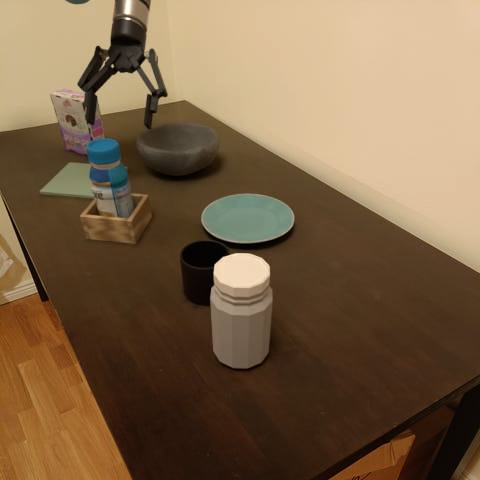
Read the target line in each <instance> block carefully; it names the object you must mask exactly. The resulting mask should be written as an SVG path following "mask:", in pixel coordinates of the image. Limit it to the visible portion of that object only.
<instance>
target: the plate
mask: <svg viewBox="0 0 480 480" xmlns="http://www.w3.org/2000/svg"><path fill="white" fill-rule="evenodd" d="M200 219H201V220H200V221H201V224H202V227H203V228H204V229H205V231H207V232H208V233H209V235H212V236H213V237H214V238H216V239H219V240H221V241H225V242H227V243H233V244H245V245H247V244H248V245H249V244H259V243H264V242H269V241H272V240H276V239H278V238H281V237H282V236H284V235H286V234H287V233H288V232H289V231H290V230H291V229H292V228H293V226H294V223H295V214H294V211H293V209H292V208H291V207H290V206H289V205H287V204H286V203H285V202H283V201H282V200H279V199H277V198H275V197H272V196H269V195H264V194H260V193H236V194H231V195H227V196H223V197H220V198H219V199H216V200H214V201H212V202H211V203H209V204H208V205H207V206H206V207H205V208H204V210H203V211H202V213H201V216H200Z"/></svg>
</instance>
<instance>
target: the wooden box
mask: <svg viewBox="0 0 480 480" xmlns="http://www.w3.org/2000/svg"><path fill="white" fill-rule="evenodd" d="M131 196H132V201H133V207H134V211H133V213H132V214H131V216H130V217H129V219H127V218H117V217H106V216H100V215H99V212H98V208H97V204H96V200H95V199H92V201H91V202H90V203H89V204H88V206H87V207H86V208H85V209H84V211H82V213H81V214H80V216H79V218H80V222H81V225H82V228H83V229H82V230H83V232H84V235H85V239H86V240H94V241H101V242H102V241H103V242H110V243H111V242H113V243H120V244H121V243H122V244H123V243H124V244H132V245H136V244H137V243H138V241H139V240H140V238H141V236H142V234H143V233H144V232H145V229H146V228H147V227H148V225H149V224H150V221H151V219H152V218H153V214H152V209H151V208H152V207H151V202H150V196H149V194H143V193H133V192H131Z"/></svg>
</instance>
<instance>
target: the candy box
mask: <svg viewBox="0 0 480 480" xmlns="http://www.w3.org/2000/svg"><path fill="white" fill-rule="evenodd" d="M49 96H50V101H51V103H52V106H53V110H54V114H55V117H56V120H57V124H58V126H59V130H60V133H61V136H62V140H63V144H64V147H65V150H68V151H70V152H73V153H76V154H80V155H83V156H86V157H88V155H87V151H86V145H87V144H88V143H89V142H91V141H93V140H97V139H107V137H106V132H105V128H104V127H105V126H104V123H103V119H102V113H101V108H100V105H99V104H100V103H99V99H98V98H97V105H96V114H95V122H94V125H91V124H89V123H88V122H87V121H86V120H85V117H86V109H87V108H86V107H85V106H84V97H85V93H84V92H79V91H75V90H70V89H66V88H63V89H60V90H57V91H54V92H51V93H49Z"/></svg>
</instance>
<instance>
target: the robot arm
mask: <svg viewBox="0 0 480 480" xmlns="http://www.w3.org/2000/svg"><path fill="white" fill-rule="evenodd" d="M90 1H91V0H65V2H67V3H69V4H72V5H84V4H86V3H88V2H90ZM151 2H152V0H114V6H113V13H112V18H111V19H112V20H111V21H112V23H111V30H110V38H109V40H110V41H109V42H110V44H109V47H108V49H105V48H102V47H101V46H100V45H96V46H95V47H94V53H93V56H92V58H91V59H90V61H89V62H88V64H87V66H86V68H85V69H84V71H83V73H82V75H81V76H80V78H79V79H78V81H77V82H76V83H77V86H78V88H79V89H80V90H81V91H83V92H82V93H84V94H85V97H84V106H85V107H86V108H87V109H86V117H85V120H86V121H87V122H88V123H89V124H91V125H94V122H95V114H96V105H97V99H98V95H97V94H96V93H97V92H98V91H99V90H100V89H101V88H102V87H103V86H104V85H105V84H106V83H107V82H108V80H110V79H111V78H112V76H115V75H117V73H118V72H119V73H120V74H124V73H125V74H126V73H128V74H134V73H135V72H137V73H138V75H139V77H140V78H141V80H142V81H143V83H144V85H145V86H146V87H147V89H148V91H149V92H150V93H147V94H146V99H145V110H144V118H143V126H144V127H145V128H146V130H148V129H151V128H152V127H153V125H152V124H153V117H154V114H157V113H158V109H159V100H160V99H161V98H168V96H169V93H168V90H167V88H166V85H165V81H164V78H163V76H162V73H161V70H160V67H159V56H158V54H157V53H156V50H155V49H154V48H152V47H151V48H149V50H148V51H146V44H147V37H148V36H147V33H148V27H149V18H150V11H151ZM146 60H147V63H148V64H150V68H151V71H152V73H153V76H154V79H155V82H156V85H157V87H158V88H157V89H156V88H155V87H154V84H153V82H151V80H150V78H149V77H148V75H147V74H146V72H145V71H144V70H143V68H142V64H143V63H144V62H145V61H146ZM112 65H113V67H112Z"/></svg>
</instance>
